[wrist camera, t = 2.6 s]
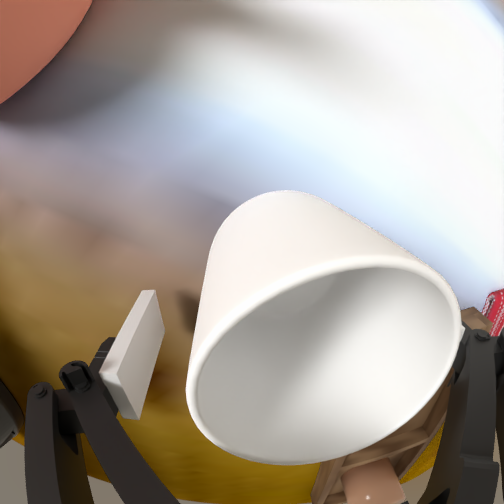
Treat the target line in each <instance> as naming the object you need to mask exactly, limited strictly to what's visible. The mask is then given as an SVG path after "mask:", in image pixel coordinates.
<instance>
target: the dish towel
mask: <svg viewBox="0 0 504 504" xmlns="http://www.w3.org/2000/svg"><path fill="white" fill-rule="evenodd" d="M482 314H483V315H484V316H485V317H487V318H488V319H489V320H490V321H491V322H492V323H493V325H492V328H491V331H490V333H489V334H490V335H491V336H499V335H500V333H501V330H502V328H504V289H501V290H498V291H495V292H492V293H491V294H489V295H488V297H487V299H486V303H485V305H484V308H483V310H482Z"/></svg>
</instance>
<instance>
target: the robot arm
mask: <svg viewBox="0 0 504 504" xmlns="http://www.w3.org/2000/svg"><path fill="white" fill-rule="evenodd" d="M461 322H462V325H461V338H460V343H459V348H458V351H457V354H456V357H455V360H454V362H453V364H452V367H453V368H454V372H453V374H452V376H451V378H450V380H449V383H448V385H447V387H449V385H450V384H451V388H450V395H449V401H448V407H447V413H446V418H445V423H444V428H443V432H442V437H441V441H440V445H439V449H438V452H437V456H436V460H435V463H434V466H433V470H432V473H431V476H430V479H429V482H428V485H427V488H426V490H425V492H424V494H423V495H422V497H421V498H420V500H419V501H418V503H417V504H493V502H494V498H495V492H496V487H497V482H498V476H499V463H498V462H493V450H494V442H495V428H496V433H497V439H498V445H499V453H500V462H501V474H502V490H503V500H504V328H502V330H501V333H500V335H499V336H491V335H490V334H489V333H488V332H487V331H485V330H482V329H473V330H472V329H471V328H470V327H469V326H468V325H467V324H466V323H465V322H463V321H462V320H461ZM164 333H165V329H164V325H163V321H162V317H161V313H160V309H159V304H158V300H157V296H156V291H155V290H142V292H141V294H140V295H139V297H138V299H137V301H136V302H135V304H134V306H133V308H132V310H131V311H130V313H129V315H128V317H127V319H126V321H125V322H124V324H123V326H122V328H121V330H120V332H119V334H118V335H117V337H109V338H108V339H106V340H105V341H104V342H103V343H102V344H101V346H100V348H99V349H98V352H97V353H96V355H95V358H93V360H92V362H91V364H90V366H89V367H88V365H87V364H86V363H85V362H83V361H72V362H69V363H68V364H66V365H64V366H63V367H62V368H61V370H60V372H59V378H60V379H61V381H62V383H63V385H64V386H65V388H66V389H61V390H54V389H53V387H52V386H51V385H50V384H49V383H47V382H40V383H37V384H35V385H34V386H32V387H31V389H30V390H29V392H28V396H27V407H26V420H25V476H26V489H27V498H28V504H94V501H93V497H92V493H91V489H90V485H89V481H88V477H87V472H86V467H85V462H84V457H83V451H82V445H81V438H80V433H85V434H86V436H87V439H88V441H89V443H90V445H91V447H92V449H93V451H94V453H95V455H96V457H97V458H98V460H99V462H100V464H101V466H102V468H103V469H104V471H105V473H106V475H107V476H108V478H109V480H110V481H111V483H112V485H113V486H114V488H115V489H116V491H117V493H118V494H119V496H120V497H121V499H122V500H123V502H124V503H125V504H180V503H179V502H178V500H177V499H176V498H175V497H174V496H173V495H172V494H171V493H170V491H169V490H168V489H167V488H166V487H165V485H164V484H163V483H162V482H161V481H160V479H159V478H158V477H157V476H156V474H155V473H154V472H153V470H152V469H151V468H150V467H149V465H148V464H147V463H146V461H145V460H144V459H143V457H142V456H141V454H140V453H139V452H138V450H137V449H136V447H135V446H134V444H133V443H132V441H131V440H130V438H129V437H128V435H127V434H126V432H125V431H124V429H123V428H122V426H121V425H120V423H119V421H118V420H117V418H116V416H117V413H118V410H119V412H120V414H121V415H122V417H123V418H127V419H137V420H139V419H140V415H141V412H142V408H143V404H144V400H145V397H146V393H147V390H148V386H149V383H150V379H151V376H152V372H153V369H154V366H155V362H156V359H157V356H158V352H159V349H160V346H161V343H162V340H163V336H164ZM23 423H24V416H23V414H22V411H21V409H20V407H19V406H18V404H17V402H16V401H15V399H14V398H13V396H12V395H11V394H10V392H9V391H8V390H7V388H6V387H5V386H4V384H3V383H2V382H1V381H0V448H1V447H2V446H4V445H5V444H6V443H7V442H8V441H10V440H11V439H12V438H13V437H15V436H16V435H17V434H18V433H19V431H20V429H21V427H22V425H23ZM401 504H409V503H408V501H406V502H404V503H401Z"/></svg>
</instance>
